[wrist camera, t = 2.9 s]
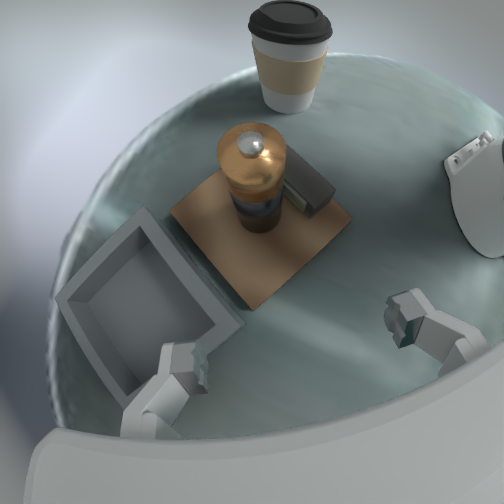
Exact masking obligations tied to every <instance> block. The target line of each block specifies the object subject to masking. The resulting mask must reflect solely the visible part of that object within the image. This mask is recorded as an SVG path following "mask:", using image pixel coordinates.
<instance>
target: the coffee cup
mask: <svg viewBox="0 0 504 504" xmlns="http://www.w3.org/2000/svg"><path fill="white" fill-rule="evenodd" d="M248 28H249V30H250V32H251V34H252V46H253V51H254V55H255V60H256V65H257V70H258V75H259V79H260V81H261V87H262V92H263V98H264V101H265V103H266V104H267V106H269V107H270V108H271V109H273V110H275V111H277V112H280V113H284V114H296V113H300V112H303V111H305V110H306V109H307V108H308V107H309V106H310V105H311V102H312V98H313V95H314V91H315V88H316V86H317V84H318V81H319V77H320V74H321V70H322V67H323V63H324V60H325V56H326V53H327V49H328V45H327V44H328V40H329V38H330V37H331V35H332V28H331V23H330V21H329V20H328V18H327V17H326V16H324V15H323V13H322V12H321V11H320V10H319V9H318V8H317V7H315V6H313V5H310V4H308V3H304V2H300V1H293V0H277V1H271V2H268V3H265V4H264V5H262V6H261V7H260V8H259V9H257V10H256V11H254V12H253V13H252V14H251V16H250V21H249V24H248Z"/></svg>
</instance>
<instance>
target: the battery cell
mask: <svg viewBox="0 0 504 504" xmlns="http://www.w3.org/2000/svg"><path fill="white" fill-rule="evenodd" d="M217 157H218V161H219V164H220V166H221V169H222V172H223V175H224V178H225V181H226V184H227V187H228V189H229V192H230V195H231V198H232V201H233V204H234V207H235V210H236V212H237V215H238V218H239V221H240V223H241V225H242V226H243V227H244V228H245V229H246V230H248V231H250V232H252V233H258V234H260V233H266V232H269V231H270V230H272V229H273V228H274V227H275V226H276V225H277V224H278V222H279V220H280V216H281V206H282V195H283V184H284V172H285V160H286V144H285V141H284V139H283V137H282V135H281V134H280V133H279V132H278V131H277V130H276V129H274V128H273V127H271V126H269V125H266V124H263V123H255V122H251V123H244V124H240V125H237V126H235V127H233V128H231V129H230V130H228V131H227V132H226V133H225V134H224V135H223V136H222V138H221V139H220V141H219V143H218V147H217Z"/></svg>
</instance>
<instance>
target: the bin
mask: <svg viewBox="0 0 504 504" xmlns="http://www.w3.org/2000/svg"><path fill="white" fill-rule="evenodd" d="M55 300H56V302H57V304H58V306H59V308H60V310H61V312H62V314H63V316H64V318H65V320H66V322H67V324H68V326H69V328H70V330H71V331H72V333H73V335H74V337H75V339H76V340H77V342H78V344H79V345H80V347H81V349H82V351H83V352H84V354H85V355H86V357H87V359H88V360H89V362H90V363H91V365H92V367H93V368H94V370H95V371H96V373H97V374H98V376H99V377H100V379H101V380H102V381H103V383H104V384H105V386H106V387H107V389H108V390H109V391H110V393H111V394H112V395H113V397H114V398H115V399H116V401H117V402H118V403H119V405H120V406H121V407H122V409H123V410H125V409H126V408H127V407H128V406H129V404H130V403H131V402H132V401H133V400H134V399H135V397H136V396H137V395H138V394H139V393H140V391H141V390H142V389H143V388H144V387H145V386H146V384H147V383H148V382H149V381H150V380H151V378H152V377H153V376H154V375H157V374H158V367H159V361H160V355H161V349H162V346H163V344H164V343H173V342H182V341H191V340H198V341H199V342H200V344H201V350H203V351H204V352H205V354H206V356H208V355H209V354H210V353H211V352H213V351H214V350H215V349H216V348H218V347H219V346H220V345H221V344H222V343H224V342H225V341H226V340H227V339H228V338H230V337H231V336H232V335H233V334H234V333H236V332H237V331H238V330H239V329H240V328H242V327H243V326H244V325H245V324H246V323H245V322H244V321H243V320H242V319H241V318H240V316H239V315H238V314H237V313H236V312H235V311H234V310H233V308H232V307H231V306H230V305H229V304H228V303H227V301H226V300H225V299H224V298H223V297H222V295H221V294H220V293H219V292H218V291H217V290H216V288H215V287H214V286H213V285H212V284H211V282H210V281H209V280H208V279H207V277H206V276H205V275H204V274H203V273H202V271H201V270H200V269H199V268H198V266H197V265H196V264H195V263H194V262H193V260H192V259H191V258H190V257H189V255H188V254H187V253H186V252H185V250H184V249H183V248H182V247H181V245H180V244H179V243H178V241H177V240H176V239H175V238H174V236H173V235H172V234H171V232H170V231H169V230H168V229H167V227H166V226H165V225H164V223H163V222H162V221H161V220H160V219H159V218H158V217H157V216H155V215H154V214H153V213H152V212H151V211H150V210H148V209H147V208H146V207H145V206H144V205H143V206H142V207H141V208H140V209H139V210H138V211H137V212H136V213H135V214H133V215H132V216H131V217H130V218H129V219H128V220H127V221H126V222H125V223H124V224H123V225H122V226H121V227H120V228H119V229H118V230H117V231H116V232H115V233H114V234H113V235H112V236H111V237H110V238H109V239H108V240H107V241H106V242H105V243H104V244H103V245H102V246H101V247H100V248H99V249H98V250H97V251H96V252H95V253H94V254H93V255H92V256H91V257H90V258H89V259H88V260H87V262H86V263H85V264H84V265H83V266H82V267H81V268H80V269H79V270H78V271H77V273H76V274H75V275H74V276H73V277H72V278H71V279H70V280H69V282H68V283H67V284H66V285H65V286H64V287H63V289H62V290H61V291H60V292H59V293H58V295H57V296H56V297H55Z"/></svg>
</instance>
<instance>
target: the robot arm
mask: <svg viewBox="0 0 504 504" xmlns="http://www.w3.org/2000/svg"><path fill="white" fill-rule="evenodd" d="M444 166H445V169H446V172H447V174H448V177H449V179H450V185H451V199H452V204H453V208H454V212H455V215H456V218H457V221H458V223H459V225H460V227H461V229H462V231H463V233H464V235H465V236H466V238H467V239H468V241H469V242H470V244H471V245H472V246H473V247H474V248H475V249H476V250H477V251H478V252H479V253H481V254H482V255H484V256H486V257H489V258H497V257H501V256H504V133H501V134H500V135H499V136H497V137H496V138H495V139H494V138H492V136H491V134H490V133H489V132H488V131H487V130H486V131H485V132H484V133H483V134H482V135H480V136H479V137H478V138H476V139H475V140H473V141H472V142H470V143H469V144H467V145H466V146H464V147H463V148H461V149H460V150H458V151H457V152H455V153H454V154H452V155H451V156H449V157H448V158H447V159H445V161H444ZM386 304H387V305H388V307H387V308H386V310H385V312H384V321H385V324H386V327H387V329H388V330H389V331H391V332H392V333H393V340H394V341H395V343H396V345H397V347H398V349H399V348H402V347H405V346H408V345H410V344H413V343H414V344H415V345H416V346H418V347H419V348H421V349H422V350H424V351H425V352H427V353H428V354H429V355H431V356H432V357H434V358H435V359H437V360H438V361H440V362H441V363H443V365H442V367H441V368H440V370H439V372H438V376H439V378H438V379H436V380H434V381H432V382H429V383H427V384H425V385H423V386H421V387H419V388H417V389H414V390H412V391H410V392H407V393H405V394H403V395H400V396H398V397H395V398H393V399H390V400H388V401H385V402H382V403H380V404H377V405H374V406H371V407H368V408H366V409H363V410H359V411H356V412H353V413H350V414H347V415H343V416H340V417H336V418H333V419H329V420H325V421H321V422H317V423H313V424H309V425H305V426H300V427H295V428H290V429H285V430H280V431H274V432H268V433H261V434H254V435H246V436H237V437H227V438H214V439H194V440H181V435H180V434H179V433H178V432H176V431H175V430H174V429H173V428H172V425H173V423H174V422H175V420H176V418H177V417H178V415H179V414H180V412H181V410H182V409H183V407H184V405H185V404H186V402H187V400H188V399H189V397H190V396H189V395H196V394H205V393H208V379H207V377H206V374H207V373H208V371H209V366H208V359H207V356H206V354H205V352H204V351H203V350H201V344H200V342H199V341H198V340H191V341H182V342H173V343H164V344H163V346H162V349H161V355H160V361H159V367H158V374H157V375H154V376H153V377H152V378H151V380H150V381H149V382H148V383H147V384H146V386H145V387H144V388H143V389H142V390H141V391H140V393H139V394H138V395H137V396H136V397H135V399H134V400H133V401H132V402H131V403H130V404H129V406H128V407H127V408H126V409H125V410H124V412H123V418H122V424H121V430H120V437H116V436H107V435H100V434H93V433H87V432H81V431H76V430H71V429H66V428H61V427H56V428H54V429H53V430H51V431H50V432H49V433H48V434H47V435H46V436H45V437H44V438H43V439H42V440H41V441H40V442H39V443H38V444H37V446H36V447H35V449H34V452H33V454H32V457H31V461H30V465H29V470H28V474H27V479H26V485H25V492H24V500H23V504H504V339H503V340H501V341H500V342H498V343H497V344H496V345H494V346H493V347H490V345H489V344H488V342H487V341H486V340H485V338H484V337H483V335H482V334H481V332H480V331H479V330H478V328H476V327H474V326H471V325H469V324H467V323H465V322H463V321H461V320H459V319H457V318H455V317H452V316H450V315H448V314H446V313H444V312H442V311H440V310H437V311H436V310H435V309H434V307H433V306H432V305H431V303H430V302H429V301H428V299H427V298H426V297H425V295H424V294H423V293H422V292H421V290H420V289H419V288H414V289H411V290H408V291H404V292H401V293H398V294H395V295H392V296H389V297H388V298H387V302H386Z"/></svg>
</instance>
